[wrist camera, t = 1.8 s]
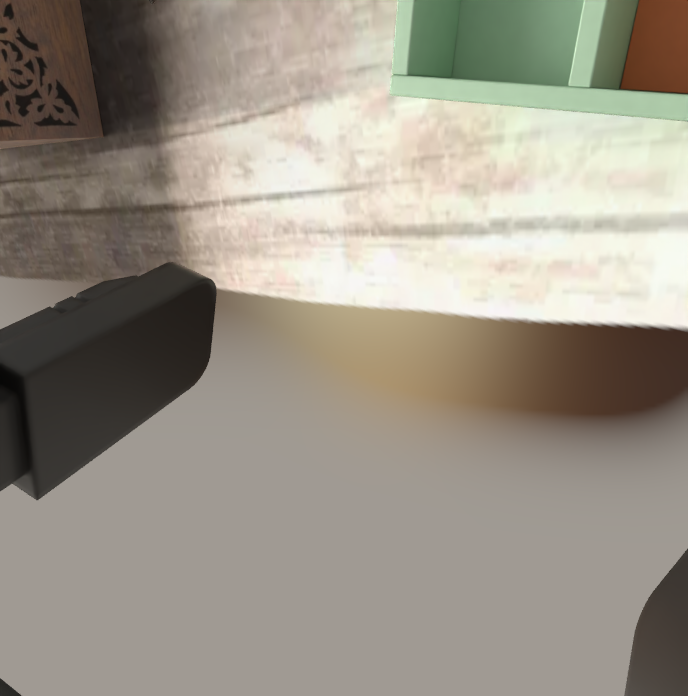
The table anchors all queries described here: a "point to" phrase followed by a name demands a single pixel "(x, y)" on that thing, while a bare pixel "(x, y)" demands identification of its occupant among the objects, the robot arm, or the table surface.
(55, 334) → the robot arm
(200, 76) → the table surface
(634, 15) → the box
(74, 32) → the tissue box cover
